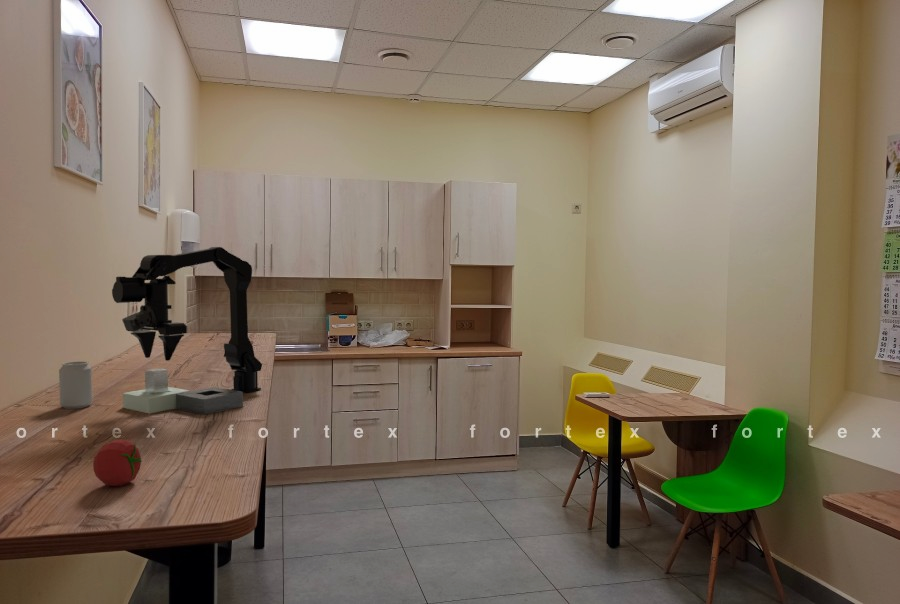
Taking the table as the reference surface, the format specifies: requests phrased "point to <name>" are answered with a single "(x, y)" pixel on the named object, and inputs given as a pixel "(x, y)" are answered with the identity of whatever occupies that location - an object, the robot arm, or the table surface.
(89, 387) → the can
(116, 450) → the tomato
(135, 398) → the dock
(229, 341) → the robot arm
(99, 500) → the table surface
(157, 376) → the pin
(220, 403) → the mount
